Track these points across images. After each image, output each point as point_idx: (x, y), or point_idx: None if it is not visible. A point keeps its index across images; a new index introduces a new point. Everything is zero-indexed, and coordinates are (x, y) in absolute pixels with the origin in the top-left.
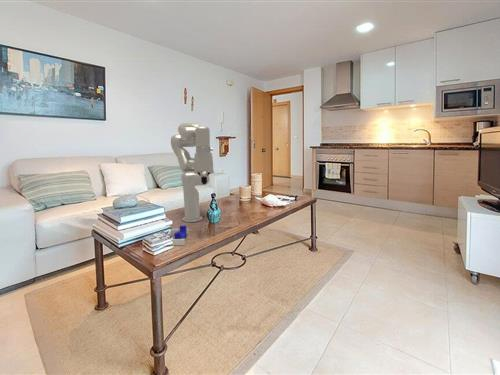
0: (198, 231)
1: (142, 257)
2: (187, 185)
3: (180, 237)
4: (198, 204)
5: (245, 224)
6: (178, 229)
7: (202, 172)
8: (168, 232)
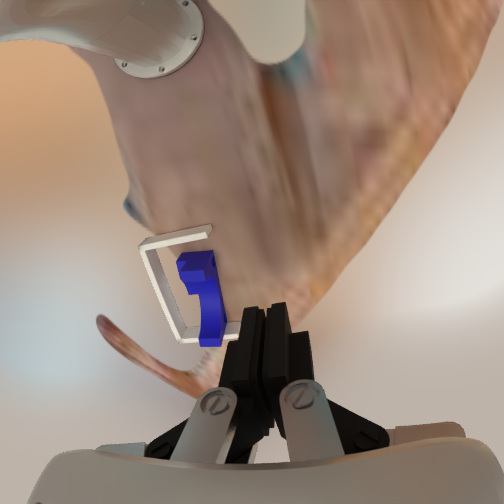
0: (242, 194)
1: (172, 380)
2: (19, 37)
3: (222, 337)
4: (162, 8)
5: (434, 95)
6: (169, 245)
7: (223, 460)
8: (151, 281)
